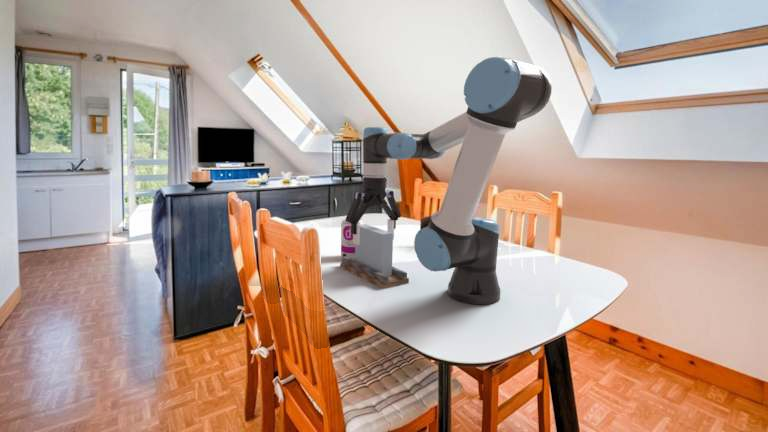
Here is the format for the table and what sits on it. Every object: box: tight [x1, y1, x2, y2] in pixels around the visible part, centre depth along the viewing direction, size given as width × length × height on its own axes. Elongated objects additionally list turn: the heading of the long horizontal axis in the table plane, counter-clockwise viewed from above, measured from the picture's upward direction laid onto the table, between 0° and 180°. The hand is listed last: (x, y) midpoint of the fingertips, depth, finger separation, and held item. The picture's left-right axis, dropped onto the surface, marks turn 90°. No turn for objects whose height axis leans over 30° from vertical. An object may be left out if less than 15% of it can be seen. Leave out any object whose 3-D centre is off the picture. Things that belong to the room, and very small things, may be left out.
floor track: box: [339, 256, 410, 290], centre depth 136 cm, size 26×10×4 cm, turn 36°
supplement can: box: [340, 217, 364, 260], centre depth 153 cm, size 8×8×15 cm
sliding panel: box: [355, 223, 394, 276], centre depth 135 cm, size 16×4×14 cm, turn 36°
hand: (373, 241), depth 134 cm, fingers open, 13 cm apart
